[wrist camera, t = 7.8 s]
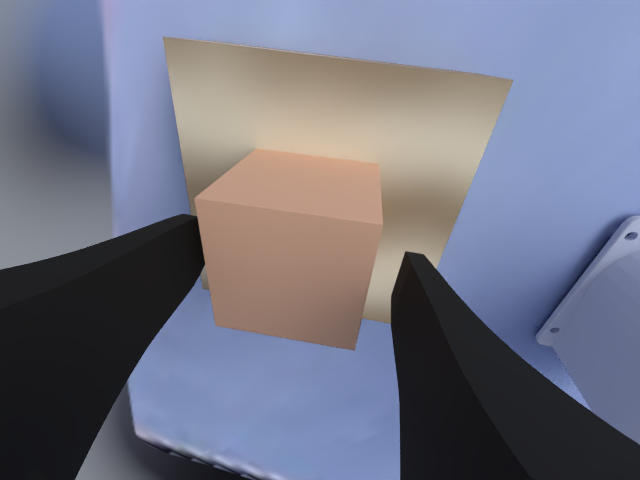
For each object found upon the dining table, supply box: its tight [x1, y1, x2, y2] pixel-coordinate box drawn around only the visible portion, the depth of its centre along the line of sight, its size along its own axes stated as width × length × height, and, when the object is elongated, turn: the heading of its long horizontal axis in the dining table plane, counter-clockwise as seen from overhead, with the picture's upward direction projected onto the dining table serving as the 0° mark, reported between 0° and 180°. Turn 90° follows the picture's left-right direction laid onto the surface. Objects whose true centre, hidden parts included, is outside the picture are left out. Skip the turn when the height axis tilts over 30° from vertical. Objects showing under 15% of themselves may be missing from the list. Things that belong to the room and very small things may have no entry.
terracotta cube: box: [194, 148, 383, 351], centre depth 11 cm, size 5×5×5 cm
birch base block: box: [163, 37, 513, 324], centre depth 15 cm, size 12×12×4 cm
